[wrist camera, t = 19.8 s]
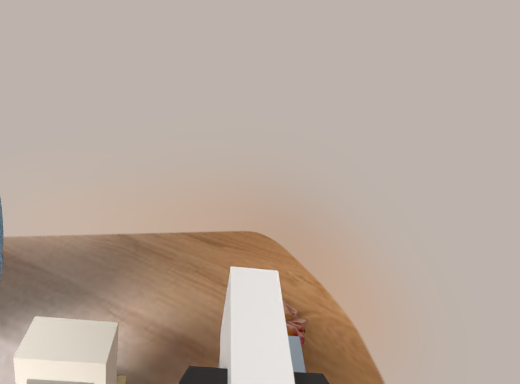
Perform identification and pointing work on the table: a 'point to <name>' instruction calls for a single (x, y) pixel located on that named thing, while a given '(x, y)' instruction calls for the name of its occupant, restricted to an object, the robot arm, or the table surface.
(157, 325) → the table surface
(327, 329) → the table surface
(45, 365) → the key cream
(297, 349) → the light blue tall block
